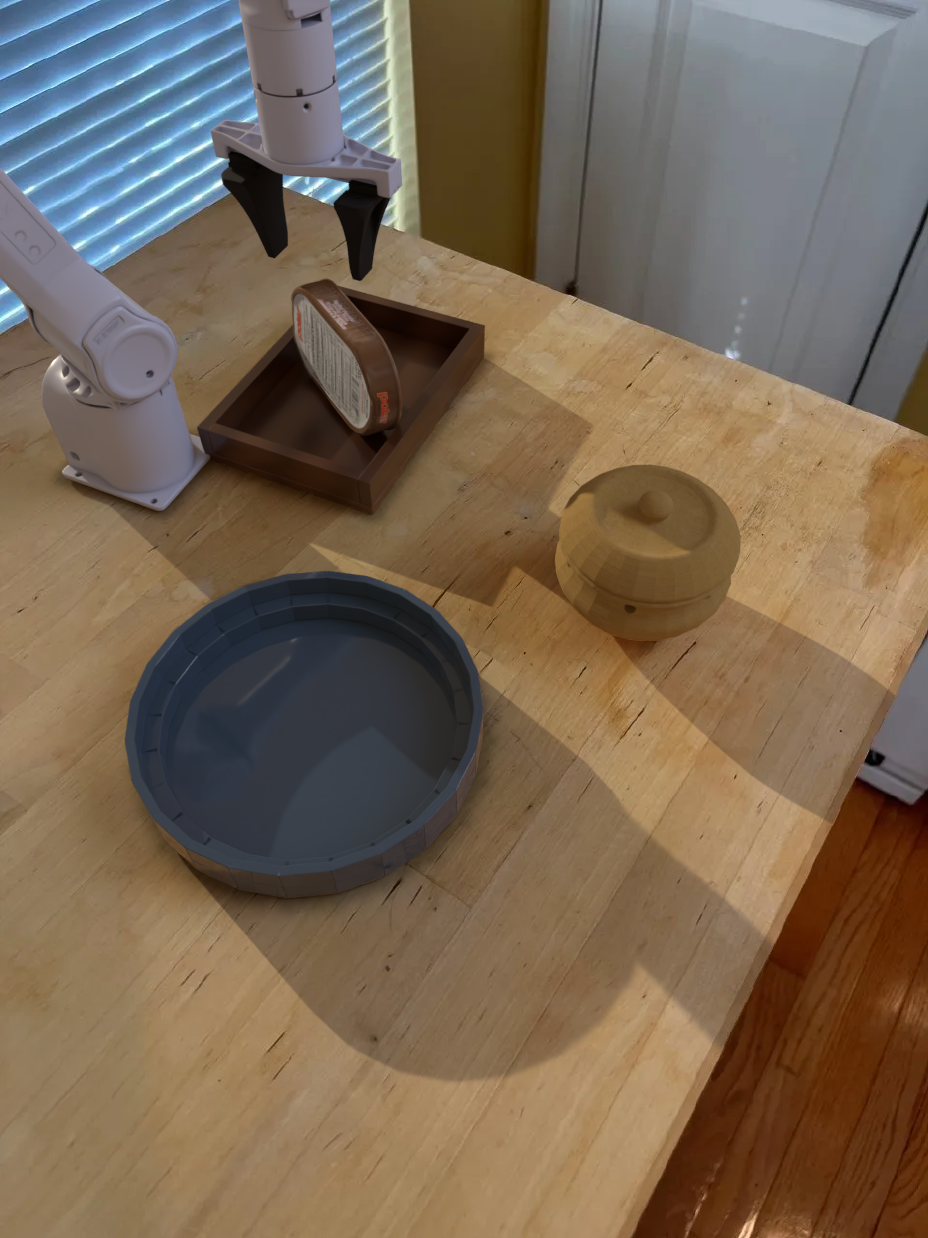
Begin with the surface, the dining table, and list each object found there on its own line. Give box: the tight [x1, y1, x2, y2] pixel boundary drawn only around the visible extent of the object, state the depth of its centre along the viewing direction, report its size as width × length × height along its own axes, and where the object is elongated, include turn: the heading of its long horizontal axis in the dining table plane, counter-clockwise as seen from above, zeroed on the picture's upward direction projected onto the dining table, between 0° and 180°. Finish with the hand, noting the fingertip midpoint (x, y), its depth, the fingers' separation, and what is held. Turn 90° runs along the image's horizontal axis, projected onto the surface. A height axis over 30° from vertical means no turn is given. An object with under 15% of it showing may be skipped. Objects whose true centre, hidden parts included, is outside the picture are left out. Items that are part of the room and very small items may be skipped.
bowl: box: [124, 570, 484, 899], centre depth 58 cm, size 21×21×4 cm
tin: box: [290, 277, 402, 436], centre depth 74 cm, size 15×3×8 cm, turn 31°
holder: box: [196, 284, 486, 515], centre depth 77 cm, size 15×21×3 cm
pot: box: [554, 464, 742, 642], centre depth 62 cm, size 12×12×10 cm
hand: (319, 262), depth 74 cm, fingers open, 7 cm apart
